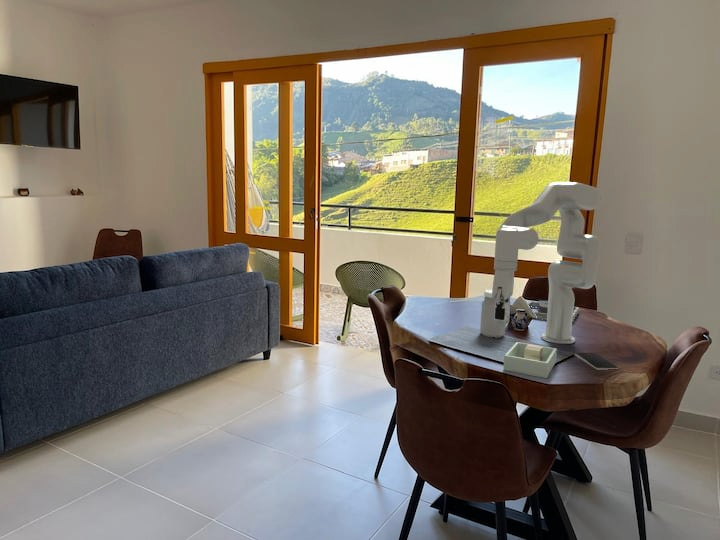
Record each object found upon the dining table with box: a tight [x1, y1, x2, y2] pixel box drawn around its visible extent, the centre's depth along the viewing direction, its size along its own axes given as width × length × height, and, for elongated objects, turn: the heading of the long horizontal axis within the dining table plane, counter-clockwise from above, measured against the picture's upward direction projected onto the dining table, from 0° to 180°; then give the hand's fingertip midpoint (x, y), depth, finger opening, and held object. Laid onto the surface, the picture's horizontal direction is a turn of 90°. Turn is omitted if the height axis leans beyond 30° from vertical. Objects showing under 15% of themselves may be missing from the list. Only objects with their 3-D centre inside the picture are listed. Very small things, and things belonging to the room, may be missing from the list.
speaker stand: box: [527, 301, 580, 323], centre depth 246 cm, size 23×23×3 cm
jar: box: [479, 288, 507, 339], centre depth 210 cm, size 10×10×18 cm
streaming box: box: [536, 300, 548, 314], centre depth 247 cm, size 14×14×5 cm
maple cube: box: [524, 344, 543, 361], centre depth 179 cm, size 5×5×5 cm
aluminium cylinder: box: [494, 301, 511, 325], centre depth 179 cm, size 5×5×7 cm
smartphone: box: [574, 352, 619, 371], centre depth 182 cm, size 8×1×15 cm
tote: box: [503, 341, 558, 379], centre depth 176 cm, size 18×14×5 cm
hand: (501, 317), depth 179 cm, fingers closed on aluminium cylinder, 5 cm apart
